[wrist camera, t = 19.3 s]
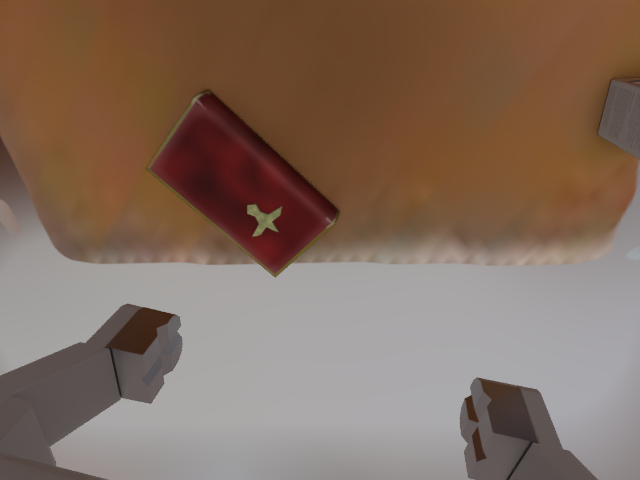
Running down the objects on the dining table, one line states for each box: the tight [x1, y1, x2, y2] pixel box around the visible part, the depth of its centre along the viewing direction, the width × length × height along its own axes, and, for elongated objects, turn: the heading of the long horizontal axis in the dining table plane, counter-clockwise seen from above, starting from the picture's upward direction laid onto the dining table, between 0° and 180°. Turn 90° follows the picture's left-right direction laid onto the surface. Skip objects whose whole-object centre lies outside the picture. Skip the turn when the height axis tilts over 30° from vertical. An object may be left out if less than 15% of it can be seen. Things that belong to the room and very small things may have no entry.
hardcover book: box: [146, 90, 339, 277], centre depth 48 cm, size 12×21×4 cm, turn 48°
